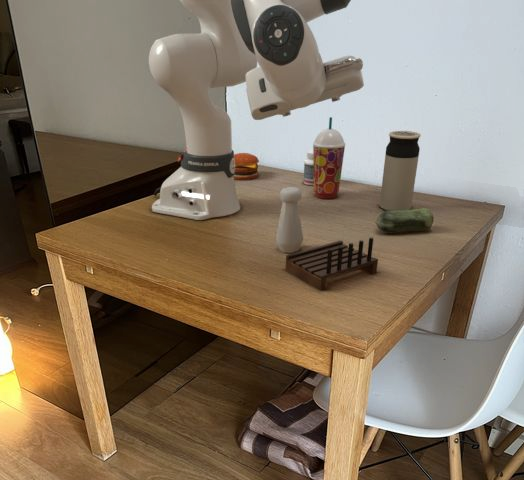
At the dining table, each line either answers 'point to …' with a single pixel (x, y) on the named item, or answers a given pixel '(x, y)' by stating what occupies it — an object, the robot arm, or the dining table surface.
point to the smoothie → (328, 162)
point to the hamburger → (245, 166)
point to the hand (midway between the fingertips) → (310, 104)
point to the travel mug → (399, 170)
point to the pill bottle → (309, 169)
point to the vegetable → (405, 220)
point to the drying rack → (330, 262)
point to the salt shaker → (289, 221)
